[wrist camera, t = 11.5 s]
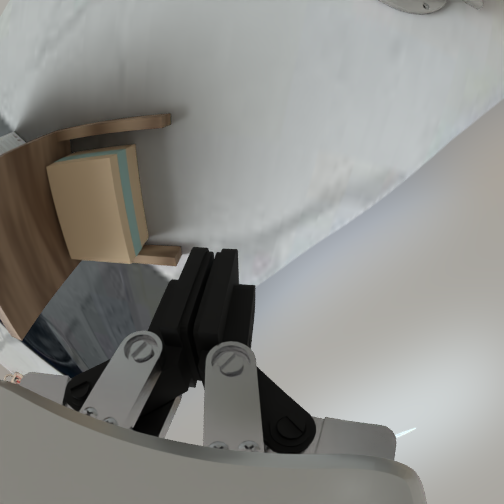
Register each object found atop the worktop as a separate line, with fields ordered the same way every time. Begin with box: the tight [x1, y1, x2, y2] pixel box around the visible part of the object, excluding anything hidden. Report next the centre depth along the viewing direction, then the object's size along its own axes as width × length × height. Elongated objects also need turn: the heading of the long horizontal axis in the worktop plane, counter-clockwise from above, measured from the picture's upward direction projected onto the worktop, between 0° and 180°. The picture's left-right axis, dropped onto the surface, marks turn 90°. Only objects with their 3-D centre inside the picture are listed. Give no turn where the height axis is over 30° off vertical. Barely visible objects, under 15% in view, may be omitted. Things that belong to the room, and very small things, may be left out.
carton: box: [46, 144, 149, 264], centre depth 29 cm, size 9×12×6 cm
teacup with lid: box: [4, 372, 24, 385], centre depth 70 cm, size 12×9×12 cm
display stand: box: [0, 113, 182, 340], centre depth 23 cm, size 16×17×18 cm
